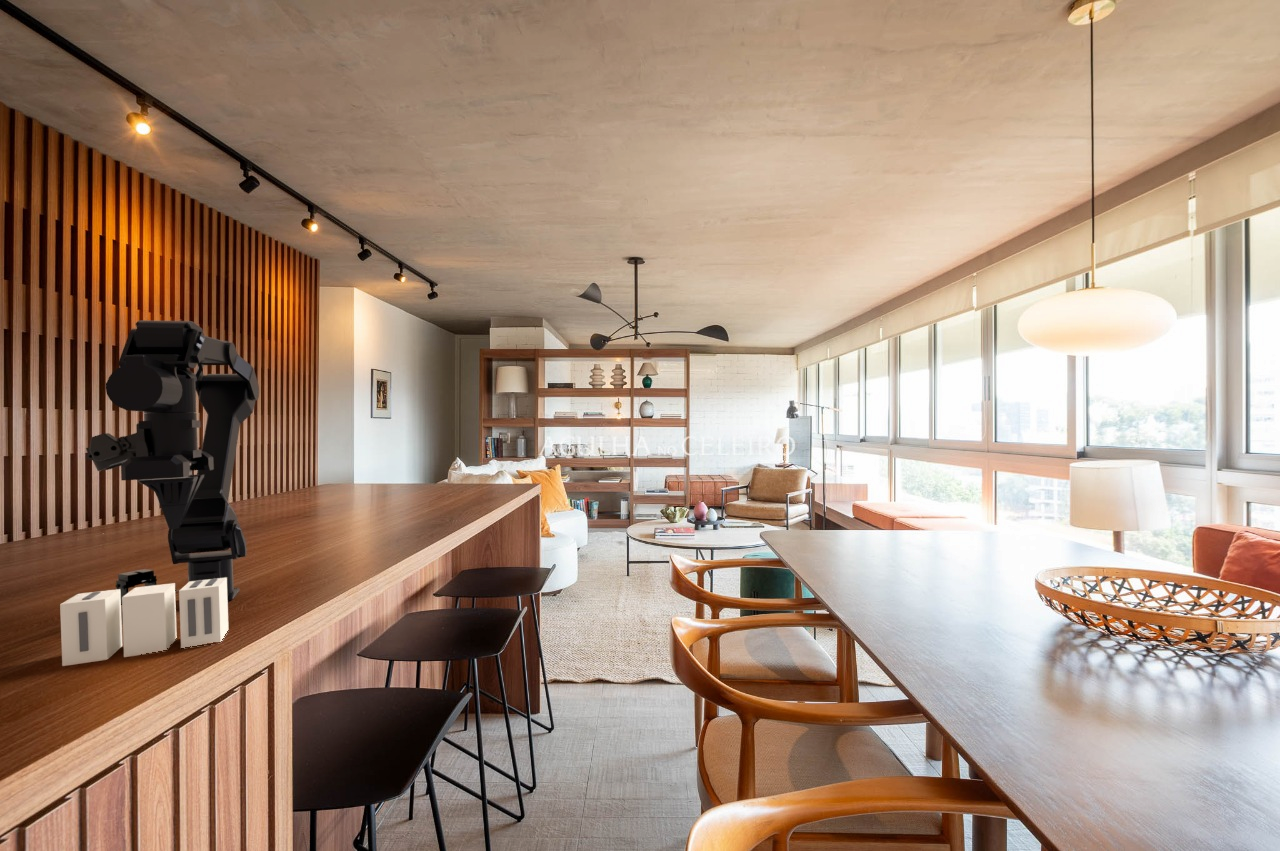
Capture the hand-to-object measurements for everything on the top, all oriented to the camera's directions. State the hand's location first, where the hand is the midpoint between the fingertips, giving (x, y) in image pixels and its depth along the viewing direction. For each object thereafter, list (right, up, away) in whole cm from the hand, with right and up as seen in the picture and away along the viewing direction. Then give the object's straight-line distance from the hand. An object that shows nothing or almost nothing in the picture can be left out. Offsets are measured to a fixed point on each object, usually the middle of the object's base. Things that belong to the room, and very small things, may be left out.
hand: (174, 528), depth 84 cm
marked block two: (+9, -13, -7) cm, 17 cm away
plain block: (+4, -13, -9) cm, 16 cm away
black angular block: (-17, -14, +15) cm, 27 cm away
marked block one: (-1, -13, -11) cm, 17 cm away
